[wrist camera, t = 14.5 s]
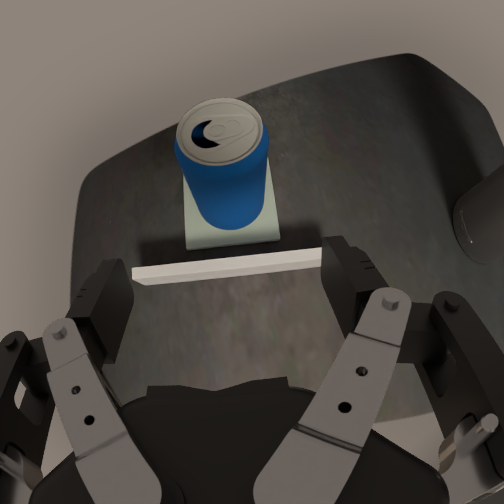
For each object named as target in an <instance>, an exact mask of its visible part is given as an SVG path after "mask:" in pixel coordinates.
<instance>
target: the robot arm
mask: <svg viewBox="0 0 504 504" xmlns="http://www.w3.org/2000/svg"><path fill="white" fill-rule="evenodd" d="M453 225H454V231H455V234H456V237H457V239H458V241H459V243H460V245H461V247H462V249H463V250H464V252H465V253H466V254H467V255H468V256H469V257H470V258H471V259H473V260H474V261H475V262H478V263H480V264H488V263H492V262H494V261H497V260H500V259H502V258H504V163H503V164H502V165H501V166H500V167H498V168H497V169H496V170H495V171H493V172H492V173H491V174H490V175H488V176H487V177H486V178H485V179H483V180H482V181H481V182H479V183H478V184H477V185H475V186H474V187H473V188H472V189H470V190H469V191H468V192H466V193H465V194H464V195H462V196H461V197H460V198H459V199H458V200H457V202H456V203H455V206H454V210H453ZM321 281H322V285H323V288H324V290H325V292H326V294H327V297H328V299H329V302H330V304H331V306H332V309H333V311H334V313H335V316H336V318H337V321H338V323H339V325H340V328H341V330H342V333H343V335H344V338H345V342H344V344H343V346H342V348H341V350H340V352H339V353H338V355H337V357H336V359H335V361H334V363H333V365H332V366H331V368H330V370H329V372H328V374H327V375H326V377H325V379H324V381H323V383H322V384H321V386H320V388H319V389H318V391H317V393H316V392H313V391H311V390H307V389H304V388H299V387H291V386H289V385H288V380H287V376H286V377H279V378H271V379H262V380H253V381H249V382H246V383H242V384H239V385H236V386H232V387H229V388H226V389H222V390H218V391H209V390H203V389H197V388H191V387H186V386H181V385H176V386H148V388H147V394H146V396H144V397H141V398H138V399H135V400H133V401H131V402H129V403H127V404H125V405H122V404H121V402H120V400H119V399H118V397H117V395H116V393H115V392H114V390H113V388H112V386H111V385H110V383H109V381H108V379H107V377H106V375H105V374H104V372H103V370H102V366H103V364H115V361H116V357H117V354H118V351H119V347H120V344H121V341H122V337H123V334H124V331H125V328H126V325H127V322H128V319H129V316H130V313H131V310H132V307H133V303H134V294H133V289H132V286H131V284H130V281H129V278H128V275H127V272H126V269H125V266H124V263H123V261H122V260H121V259H112V260H104V261H102V263H101V265H100V266H99V268H98V270H97V272H96V273H93V274H92V275H91V276H90V277H89V278H88V279H87V280H86V281H85V282H84V284H83V286H82V288H81V291H79V293H78V295H77V298H75V300H74V302H73V304H72V305H71V307H70V309H69V311H68V313H67V315H66V317H65V318H61V319H58V320H56V321H54V322H52V323H51V324H50V325H49V326H48V327H47V328H46V329H45V330H44V333H43V337H41V338H37V339H33V340H30V341H29V340H28V339H27V337H26V335H25V334H24V333H23V332H22V331H14V332H12V333H10V334H8V335H7V336H5V337H4V338H3V339H2V341H1V342H0V504H465V503H467V502H469V501H480V500H483V499H484V498H486V497H488V496H490V495H492V494H493V493H495V492H497V491H499V490H500V489H502V488H503V487H504V354H503V352H502V351H501V349H500V348H499V346H498V345H497V343H496V342H495V340H494V339H493V337H492V336H491V334H490V333H489V331H488V330H487V328H486V327H485V325H484V324H483V323H482V321H481V320H480V318H479V317H478V316H477V314H476V313H475V311H474V310H473V309H472V307H471V306H470V305H469V303H468V302H467V301H466V300H465V299H464V298H463V297H462V296H461V295H459V294H457V293H454V292H449V291H443V292H439V293H438V294H436V295H435V297H434V299H433V302H432V304H429V303H414V302H411V300H410V298H409V297H408V295H407V294H405V293H404V292H402V291H401V290H398V289H395V288H390V287H389V286H388V284H387V283H386V281H385V280H384V278H383V277H382V275H381V274H380V273H379V271H378V270H377V268H375V265H374V264H373V263H372V262H371V260H370V258H369V257H368V256H367V254H366V253H365V252H364V251H362V250H360V249H359V248H357V247H350V246H349V245H348V243H347V242H346V240H345V239H344V237H343V236H332V237H324V238H323V240H322V255H321ZM450 352H451V353H450ZM451 354H452V355H451ZM452 356H453V357H452ZM453 358H454V359H453ZM454 360H455V361H454ZM455 362H456V363H455ZM396 363H414V365H415V368H416V370H417V372H418V374H419V377H420V379H421V381H422V384H423V386H424V388H425V391H426V393H427V395H428V398H429V400H430V403H431V405H432V408H433V410H434V413H435V415H436V418H437V420H438V423H439V426H440V428H441V431H442V433H443V436H444V439H445V440H444V441H443V442H442V444H441V445H440V448H439V452H438V453H439V454H438V457H439V471H437V470H436V469H434V468H433V467H432V466H430V465H429V464H427V463H425V462H424V461H422V460H420V459H419V458H417V457H415V456H414V455H412V454H411V453H409V452H407V451H405V450H404V449H402V448H401V447H399V446H398V445H396V444H395V443H393V442H391V441H390V440H388V439H386V438H385V437H384V436H382V435H380V434H379V433H377V432H376V431H374V430H373V429H371V428H372V425H373V423H374V421H375V418H376V416H377V413H378V411H379V408H380V406H381V403H382V401H383V398H384V396H385V393H386V390H387V387H388V385H389V382H390V379H391V376H392V373H393V370H394V367H395V364H396ZM20 381H21V382H22V384H23V385H24V386H25V387H26V391H25V394H24V397H23V399H22V402H21V406H20V408H19V409H18V408H17V407H16V405H15V401H14V395H15V392H16V389H17V387H18V384H19V382H20ZM55 405H56V407H57V410H58V413H59V415H60V418H61V421H62V423H63V426H64V429H65V431H66V434H67V436H68V438H69V441H70V443H71V446H72V448H73V450H74V451H73V452H72V453H71V454H70V455H68V456H67V457H66V458H65V459H64V460H63V461H62V462H61V463H60V464H59V465H58V466H56V467H55V468H54V469H53V470H52V471H51V472H50V473H49V474H48V475H47V476H46V477H44V478H43V475H42V472H41V465H42V459H43V455H44V450H45V445H46V441H47V436H48V432H49V428H50V424H51V420H52V416H53V412H54V409H55Z"/></svg>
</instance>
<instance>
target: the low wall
mask: <svg viewBox="0 0 504 504" xmlns="http://www.w3.org/2000/svg"><path fill="white" fill-rule="evenodd" d="M321 255H322V247H320V248H311V249H302V250H293V251H284V252H275V253H266V254H257V255H248V256H239V257H230V258H220V259H211V260H202V261H193V262H184V263H174V264H165V265H156V266H146V267H137V268H132V279H133V280H135V281H137V282H139V283H141V284H144V285H154V284H164V283H175V282H185V281H195V280H205V279H214V278H224V277H233V276H242V275H252V274H260V273H269V272H278V271H287V270H295V269H303V268H312V267H320V266H321Z"/></svg>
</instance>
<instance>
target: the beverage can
mask: <svg viewBox="0 0 504 504" xmlns="http://www.w3.org/2000/svg"><path fill="white" fill-rule="evenodd" d="M268 145H269V137H268V132H267V129H266V126H265V125H264V123H263V121H262V120H261V117H260V116H259V114H258V113H257V111H256V110H255V109H254V108H253V107H252V106H250V105H249V104H247V103H245V102H243V101H240V100H237V99H233V98H214V99H210V100H206V101H203V102H201V103H199V104H197V105H195V106H194V107H192V108H191V109H190V110H188V111H187V112H186V113H185V115H184V116H183V117H182V118H181V120H180V122H179V124H178V127H177V131H176V137H175V142H174V150H175V155H176V158H177V160H178V163H179V165H180V168H181V170H182V172H183V175H184V177H185V179H186V182H187V184H188V186H189V189H190V191H191V193H192V196H193V198H194V200H195V203H196V205H197V207H198V210H199V212H200V214H201V216H202V217H203V218H204V220H205V221H206V222H208V223H209V224H210V225H212V226H214V227H216V228H218V229H222V230H237V229H241V228H244V227H246V226H248V225H249V224H251V223H252V222H253V221H254V220H255V219H256V218H257V217H258V216H259V214H260V213H261V211H262V208H263V205H264V196H265V184H266V171H267V158H268Z"/></svg>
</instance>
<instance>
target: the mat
mask: <svg viewBox="0 0 504 504" xmlns="http://www.w3.org/2000/svg"><path fill="white" fill-rule="evenodd" d="M183 181H184V213H185V235H186V249H187V251H188V250H197V249H206V248H215V247H224V246H233V245H242V244H251V243H261V242H270V241H279V240H280V232H279V225H278V218H277V212H276V205H275V199H274V192H273V186H272V180H271V173H270V167H269V161H268V158H267V171H266V184H265V196H264V205H263V208H262V211H261V213H260V214H259V216H258V217H257V218H256V219H255V220H254V221H253V222H252V223H251V224H249V225H248V226H246V227H244V228H241V229H237V230H222V229H218V228H216V227H214V226H212V225H210V224H209V223H208V222H206V221H205V220H204V218H203V217H202V216H201V214H200V212H199V210H198V207H197V205H196V203H195V200H194V198H193V196H192V193H191V191H190V189H189V186H188V184H187V182H186V179H185V177H184V175H183Z"/></svg>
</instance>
